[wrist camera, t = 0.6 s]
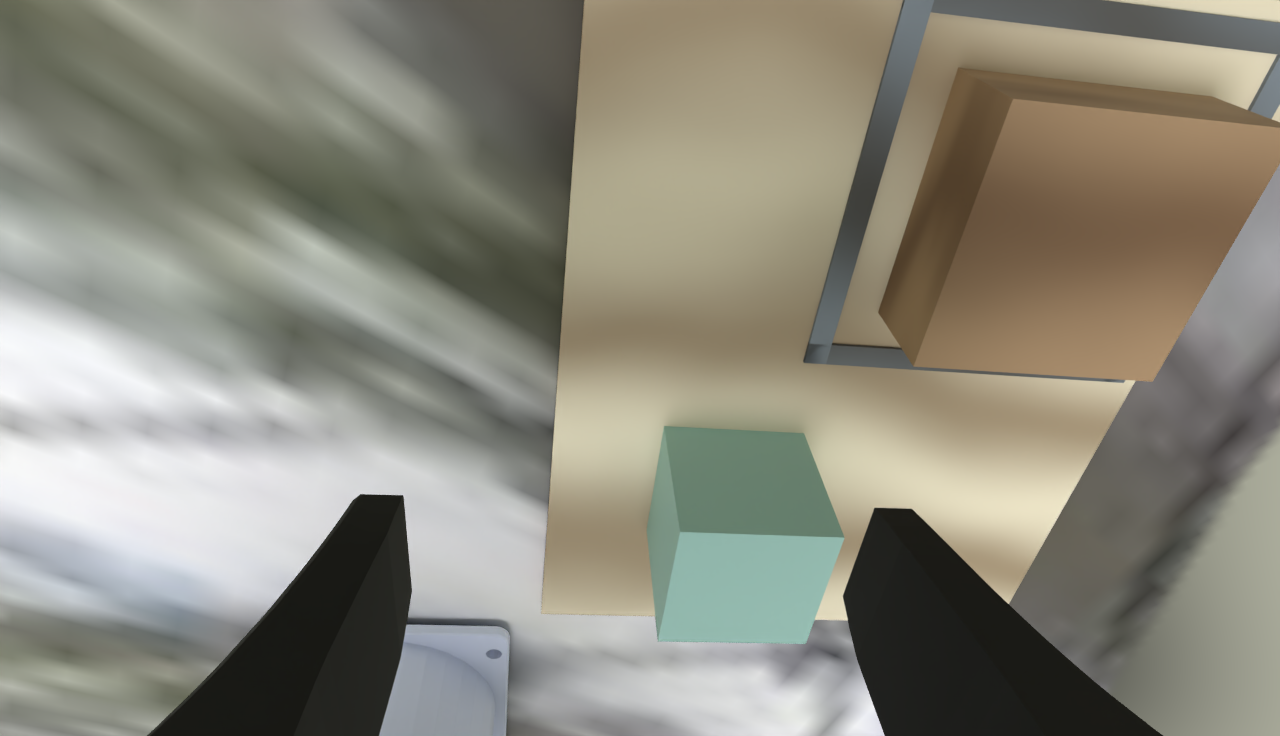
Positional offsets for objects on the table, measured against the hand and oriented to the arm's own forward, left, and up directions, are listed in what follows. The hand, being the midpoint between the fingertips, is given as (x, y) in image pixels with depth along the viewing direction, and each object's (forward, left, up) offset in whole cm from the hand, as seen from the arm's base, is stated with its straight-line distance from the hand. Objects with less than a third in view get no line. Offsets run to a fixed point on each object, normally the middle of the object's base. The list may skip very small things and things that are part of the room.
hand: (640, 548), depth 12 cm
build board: (-2, -7, -9) cm, 11 cm away
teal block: (-6, -4, -8) cm, 11 cm away
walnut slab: (+3, -10, -8) cm, 13 cm away
